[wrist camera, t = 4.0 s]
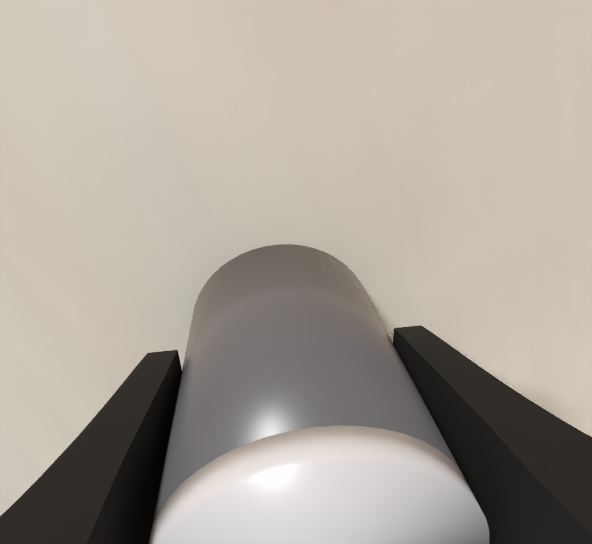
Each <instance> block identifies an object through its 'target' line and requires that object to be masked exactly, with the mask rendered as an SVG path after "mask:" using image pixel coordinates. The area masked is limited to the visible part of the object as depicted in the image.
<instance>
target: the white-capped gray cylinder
mask: <svg viewBox="0 0 592 544" xmlns="http://www.w3.org/2000/svg"><path fill="white" fill-rule="evenodd" d="M149 544H489V528H488V524H487V521H486V517H485V516H484V514H483V512H482V510H481V508H480V506H479V504H478V502H477V501H476V499H475V497H474V495H473V493H472V491H471V489H470V488H469V486H468V484H467V482H466V480H465V478H464V476H463V474H462V473H461V471H460V469H459V467H458V465H457V463H456V461H455V459H454V458H453V456H452V454H451V452H450V450H449V448H448V446H447V444H446V443H445V441H444V439H443V437H442V435H441V433H440V431H439V429H438V428H437V426H436V424H435V422H434V420H433V418H432V416H431V414H430V413H429V411H428V409H427V407H426V405H425V403H424V401H423V399H422V398H421V396H420V394H419V392H418V390H417V388H416V386H415V384H414V383H413V381H412V379H411V377H410V375H409V373H408V371H407V370H406V368H405V366H404V364H403V362H402V360H401V358H400V356H399V355H398V353H397V351H396V349H395V347H394V345H393V343H392V341H391V340H390V338H389V336H388V334H387V332H386V330H385V328H384V326H383V325H382V323H381V321H380V319H379V317H378V315H377V313H376V311H375V310H374V308H373V306H372V304H371V302H370V300H369V298H368V296H367V295H366V293H365V291H364V289H363V287H362V285H361V283H360V282H359V280H358V279H357V277H356V276H355V275H354V273H353V272H352V271H351V270H350V269H349V268H348V267H347V266H346V265H345V264H343V263H342V262H341V261H339V260H338V259H337V258H335V257H333V256H331V255H329V254H327V253H325V252H323V251H320V250H317V249H314V248H310V247H306V246H300V245H273V246H266V247H262V248H258V249H254V250H251V251H249V252H246V253H244V254H241V255H239V256H238V257H236V258H234V259H232V260H230V261H229V262H228V263H226V264H225V265H223V266H222V267H221V268H220V269H219V270H218V271H216V272H215V273H214V274H213V275H212V276H211V278H210V279H209V280H208V281H207V283H206V284H205V285H204V287H203V289H202V291H201V292H200V294H199V296H198V299H197V302H196V304H195V308H194V313H193V318H192V323H191V328H190V333H189V338H188V344H187V349H186V354H185V359H184V364H183V369H182V374H181V380H180V385H179V390H178V395H177V400H176V405H175V410H174V416H173V421H172V426H171V431H170V436H169V441H168V447H167V452H166V457H165V462H164V467H163V472H162V477H161V483H160V488H159V493H158V498H157V503H156V508H155V513H154V519H153V524H152V529H151V534H150V539H149Z"/></svg>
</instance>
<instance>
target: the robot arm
mask: <svg viewBox="0 0 592 544" xmlns="http://www.w3.org/2000/svg"><path fill="white" fill-rule="evenodd" d="M393 345H394V347H395V349H396V351H397V353H398V355H399V356H400V358H401V360H402V362H403V364H404V366H405V368H406V370H407V371H408V373H409V375H410V377H411V379H412V381H413V383H414V384H415V386H416V388H417V390H418V392H419V394H420V396H421V398H422V399H423V401H424V403H425V405H426V407H427V409H428V411H429V413H430V414H431V416H432V418H433V420H434V422H435V424H436V426H437V428H438V429H439V431H440V433H441V435H442V437H443V439H444V441H445V443H446V444H447V446H448V448H449V450H450V452H451V454H452V456H453V458H454V459H455V461H456V463H457V465H458V467H459V469H460V471H461V473H462V474H463V476H464V478H465V480H466V482H467V484H468V486H469V488H470V489H471V491H472V493H473V495H474V497H475V499H476V501H477V502H478V504H479V506H480V508H481V510H482V512H483V514H484V516H485V517H486V521H487V524H488V528H489V544H592V437H590V436H589V435H587V434H585V433H583V432H581V431H580V430H578V429H576V428H574V427H573V426H571V425H569V424H568V423H566V422H564V421H562V420H561V419H559V418H558V417H556V416H554V415H553V414H551V413H549V412H548V411H546V410H545V409H543V408H541V407H540V406H538V405H537V404H535V403H533V402H532V401H530V400H528V399H527V398H525V397H524V396H522V395H521V394H519V393H518V392H516V391H515V390H513V389H512V388H510V387H509V386H507V385H506V384H504V383H503V382H501V381H500V380H498V379H497V378H495V377H494V376H492V375H491V374H489V373H488V372H486V371H485V370H484V369H482V368H481V367H479V366H478V365H476V364H475V363H474V362H472V361H471V360H469V359H468V358H467V357H465V356H464V355H462V354H461V353H460V352H458V351H457V350H455V349H454V348H453V347H451V346H450V345H448V344H447V343H446V342H444V341H443V340H441V339H440V338H439V337H437V336H436V335H434V334H433V333H432V332H430V331H429V330H427V329H426V328H424V327H423V326H412V327H402V328H394V336H393ZM181 374H182V369H181V364H180V360H179V355H178V350H173V351H163V352H153V353H148V354H147V355H146V356H145V357H144V358H143V359H142V360H141V362H140V363H139V364H138V365H137V366H136V368H135V369H134V370H133V371H132V372H131V374H130V375H129V376H128V377H127V379H126V380H125V381H124V382H123V384H122V385H121V386H120V387H119V389H118V390H117V391H116V392H115V393H114V395H113V396H112V397H111V398H110V399H109V401H108V402H107V403H106V404H105V405H104V407H103V408H102V409H101V410H100V411H99V412H98V414H97V415H96V416H95V417H94V418H93V419H92V421H91V422H90V423H89V424H88V425H87V426H86V428H85V429H84V430H83V431H82V432H81V433H80V435H79V436H78V437H77V438H76V439H75V440H74V441H73V442H72V443H71V445H70V446H69V447H68V448H67V449H66V450H65V451H64V452H63V453H62V454H61V455H60V456H59V457H58V458H57V460H56V461H55V462H54V463H53V464H52V465H51V466H50V467H49V468H48V469H47V470H46V471H45V472H44V473H43V475H42V476H41V477H40V478H39V479H38V480H37V481H36V482H35V483H34V484H33V485H32V486H31V487H30V488H29V489H28V490H27V491H26V492H25V493H24V494H23V495H22V496H21V497H20V498H19V499H18V500H17V501H16V502H15V503H14V504H13V505H12V506H11V507H10V508H9V509H8V510H7V511H6V512H5V513H3V514H2V515H1V516H0V544H149V539H150V534H151V529H152V524H153V519H154V513H155V508H156V503H157V498H158V493H159V488H160V483H161V477H162V472H163V467H164V462H165V457H166V452H167V447H168V441H169V436H170V431H171V426H172V421H173V416H174V410H175V405H176V400H177V395H178V390H179V385H180V380H181Z"/></svg>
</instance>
